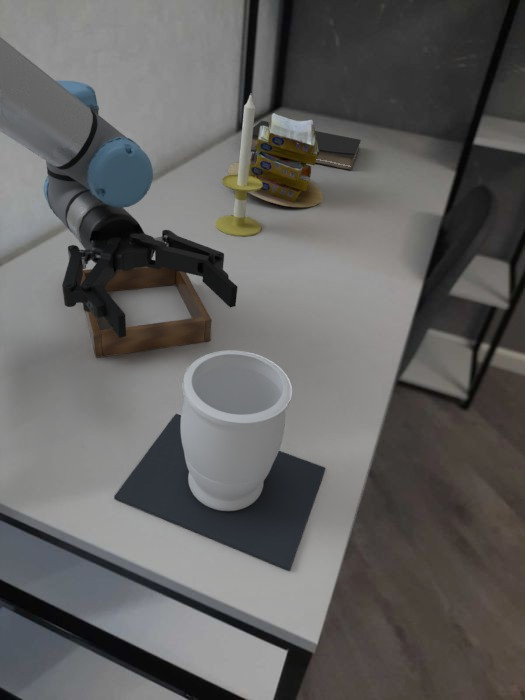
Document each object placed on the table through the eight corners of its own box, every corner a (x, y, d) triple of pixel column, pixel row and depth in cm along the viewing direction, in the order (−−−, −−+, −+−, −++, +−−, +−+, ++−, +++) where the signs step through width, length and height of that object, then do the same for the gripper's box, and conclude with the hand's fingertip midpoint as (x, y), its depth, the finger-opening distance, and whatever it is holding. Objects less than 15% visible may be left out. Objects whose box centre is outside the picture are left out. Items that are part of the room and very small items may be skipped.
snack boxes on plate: (331, 185, 140) (345, 120, 130) (309, 218, 121) (323, 145, 111) (246, 166, 145) (252, 101, 135) (211, 194, 126) (216, 122, 115)
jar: (286, 468, 61) (307, 372, 52) (247, 537, 54) (265, 438, 44) (207, 433, 64) (215, 336, 55) (160, 494, 56) (159, 393, 47)
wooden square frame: (95, 357, 74) (93, 335, 71) (79, 291, 86) (77, 270, 84) (210, 341, 80) (211, 319, 77) (179, 281, 93) (180, 261, 90)
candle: (268, 225, 116) (286, 93, 99) (247, 241, 108) (262, 102, 92) (230, 212, 118) (240, 82, 102) (206, 227, 111) (214, 89, 95)
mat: (114, 499, 56) (113, 496, 56) (175, 415, 67) (175, 413, 66) (289, 571, 52) (289, 568, 51) (324, 470, 62) (325, 467, 62)
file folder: (243, 135, 153) (263, 118, 172) (242, 149, 156) (261, 131, 175) (353, 156, 149) (361, 137, 168) (350, 171, 152) (358, 150, 171)
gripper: (187, 240, 78) (269, 312, 65) (12, 273, 65) (70, 370, 53) (189, 192, 74) (277, 259, 61) (1, 216, 61) (62, 308, 48)
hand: (181, 311), depth 57 cm, fingers open, 13 cm apart
